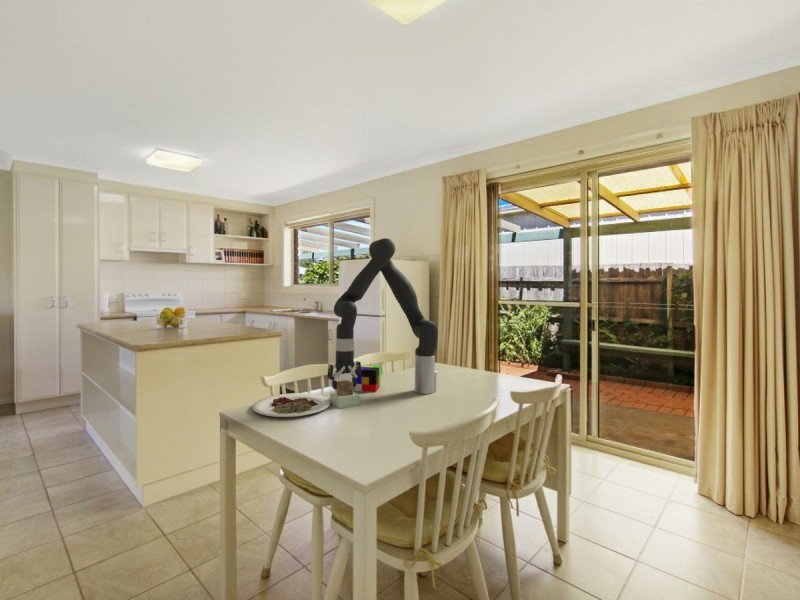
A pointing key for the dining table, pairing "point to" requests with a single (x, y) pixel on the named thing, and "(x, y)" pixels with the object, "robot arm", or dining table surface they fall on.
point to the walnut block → (344, 388)
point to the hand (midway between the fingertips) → (344, 387)
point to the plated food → (291, 405)
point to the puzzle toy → (369, 378)
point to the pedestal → (344, 400)
